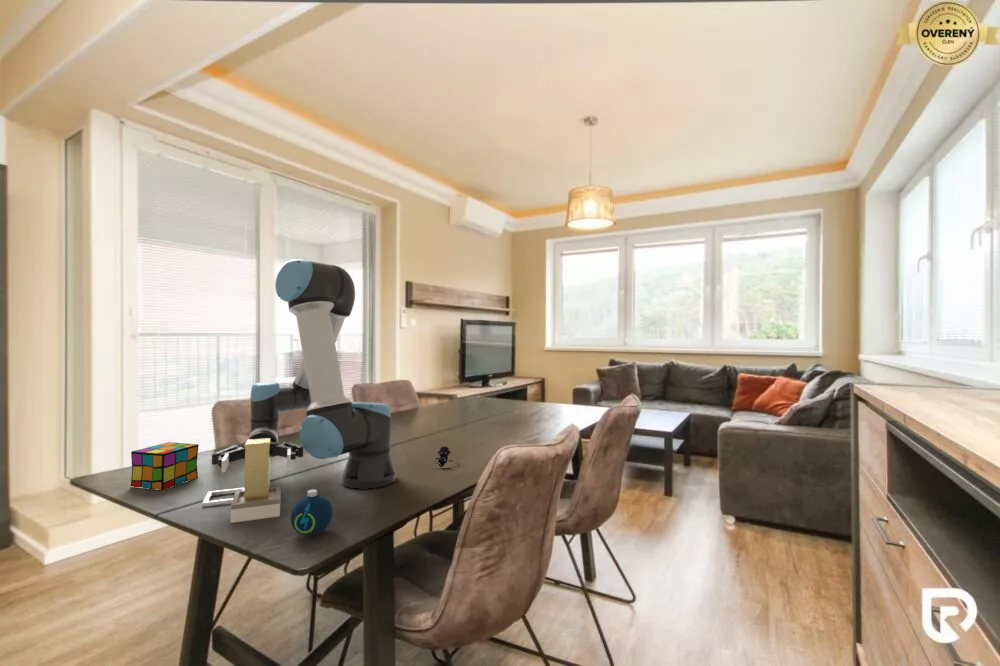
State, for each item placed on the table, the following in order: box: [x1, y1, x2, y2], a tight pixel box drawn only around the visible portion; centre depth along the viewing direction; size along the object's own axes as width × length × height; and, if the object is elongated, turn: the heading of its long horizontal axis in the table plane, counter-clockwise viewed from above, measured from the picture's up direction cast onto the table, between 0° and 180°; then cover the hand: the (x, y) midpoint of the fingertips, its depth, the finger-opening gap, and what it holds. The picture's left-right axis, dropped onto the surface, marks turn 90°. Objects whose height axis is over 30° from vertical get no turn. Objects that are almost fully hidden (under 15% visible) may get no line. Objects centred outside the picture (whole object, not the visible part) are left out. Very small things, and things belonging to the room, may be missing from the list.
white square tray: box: [230, 485, 282, 524], centre depth 110 cm, size 10×10×4 cm
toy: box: [130, 441, 199, 491], centre depth 130 cm, size 11×11×10 cm
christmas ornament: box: [289, 489, 334, 537], centre depth 98 cm, size 8×8×10 cm
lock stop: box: [244, 438, 271, 502], centre depth 110 cm, size 5×5×14 cm
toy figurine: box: [435, 445, 453, 467], centre depth 152 cm, size 10×10×6 cm
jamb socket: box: [201, 487, 245, 508], centre depth 118 cm, size 9×9×1 cm
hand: (257, 463), depth 107 cm, fingers open, 13 cm apart
